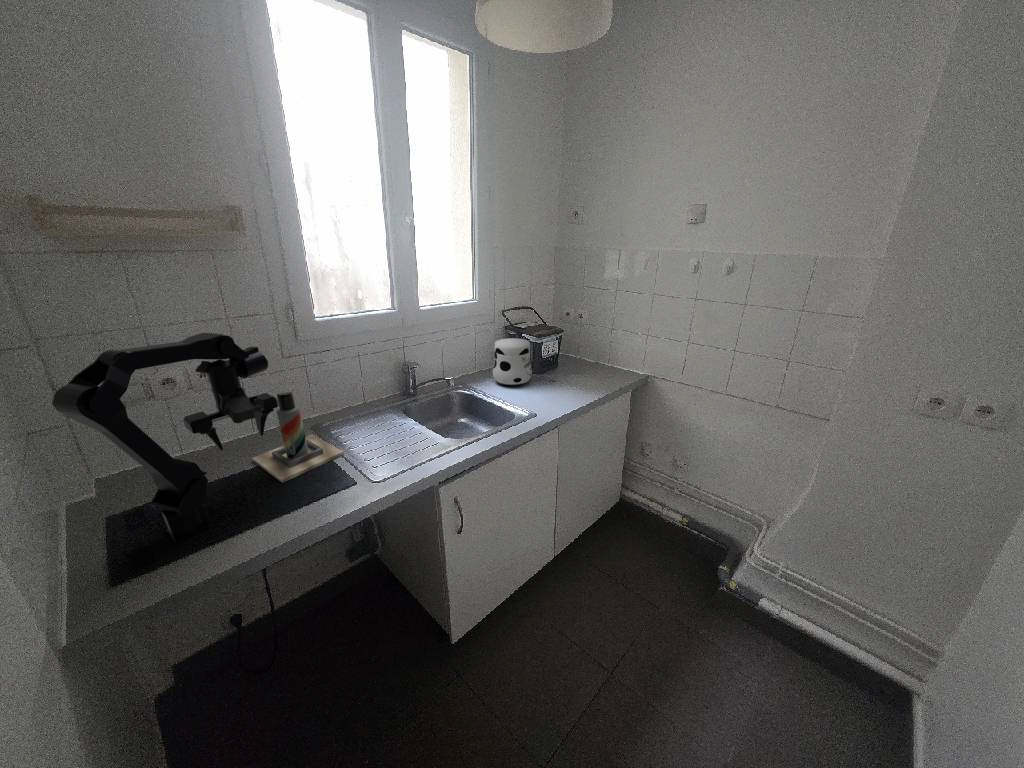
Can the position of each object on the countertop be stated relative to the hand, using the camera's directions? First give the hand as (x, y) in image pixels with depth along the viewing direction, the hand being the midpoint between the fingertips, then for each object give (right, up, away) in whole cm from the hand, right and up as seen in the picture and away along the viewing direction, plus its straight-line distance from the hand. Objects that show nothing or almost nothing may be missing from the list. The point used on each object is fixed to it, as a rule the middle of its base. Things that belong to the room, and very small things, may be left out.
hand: (242, 442), depth 101 cm
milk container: (+69, +16, +77) cm, 104 cm away
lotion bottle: (+5, -7, +17) cm, 19 cm away
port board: (+5, -7, +17) cm, 20 cm away
